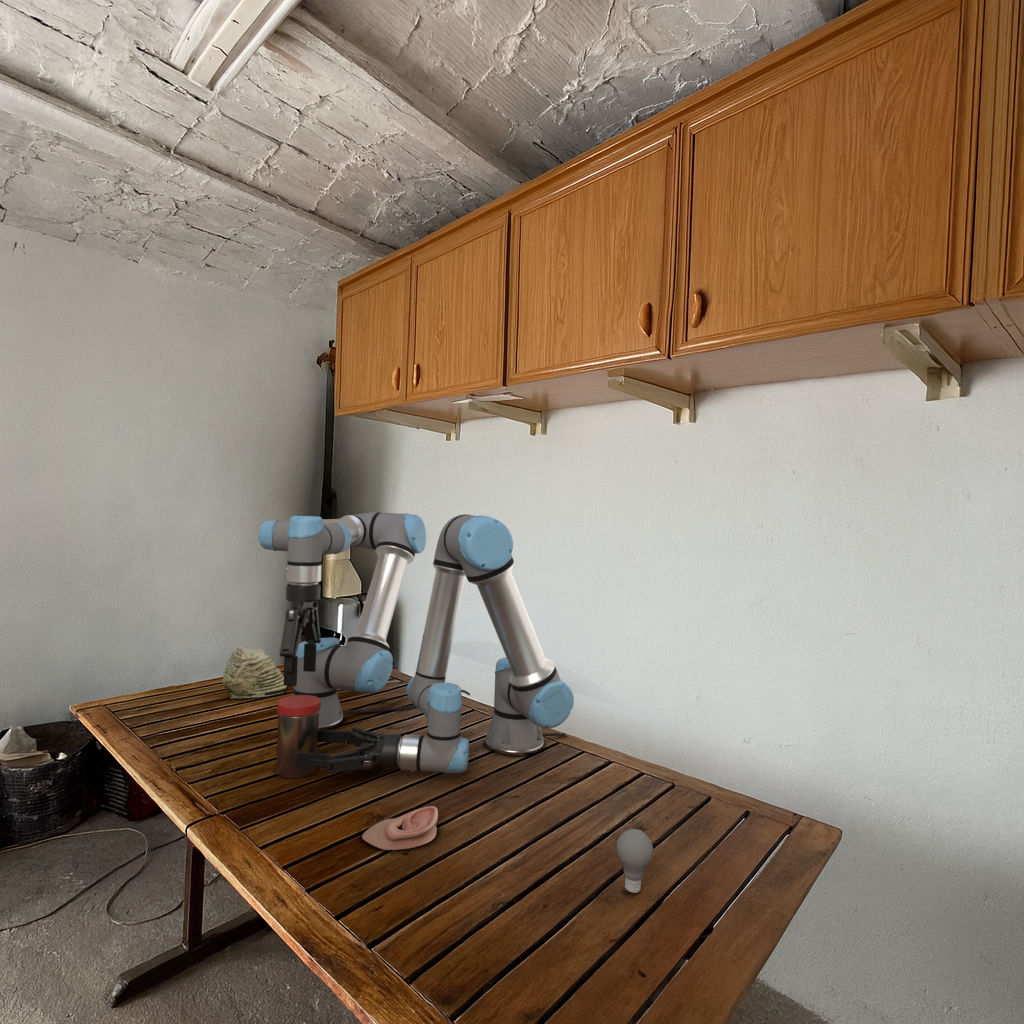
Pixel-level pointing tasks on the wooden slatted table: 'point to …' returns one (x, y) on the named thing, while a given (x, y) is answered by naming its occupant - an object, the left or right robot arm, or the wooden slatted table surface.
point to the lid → (298, 705)
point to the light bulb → (634, 857)
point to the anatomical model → (404, 830)
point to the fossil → (252, 674)
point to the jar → (296, 744)
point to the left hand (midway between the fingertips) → (300, 678)
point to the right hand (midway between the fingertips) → (308, 746)
